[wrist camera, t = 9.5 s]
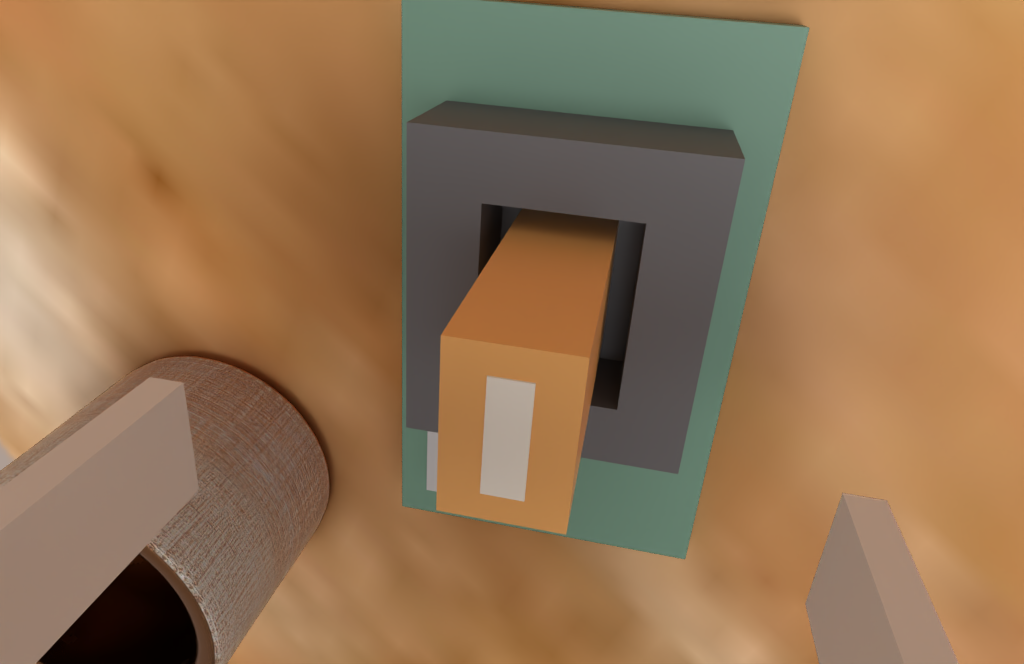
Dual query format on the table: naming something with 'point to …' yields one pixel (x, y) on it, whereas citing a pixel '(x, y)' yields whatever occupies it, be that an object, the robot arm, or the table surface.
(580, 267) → the plug
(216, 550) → the planter
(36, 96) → the table surface
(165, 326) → the table surface
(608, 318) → the board
